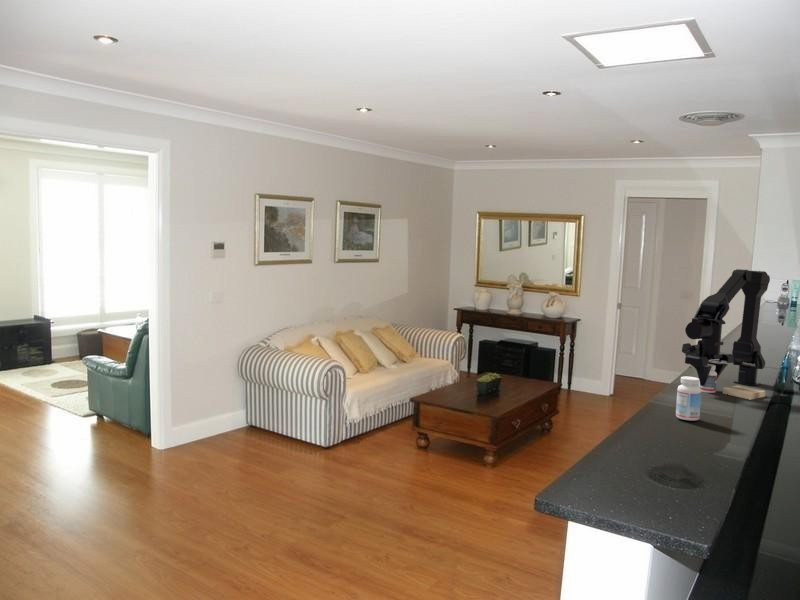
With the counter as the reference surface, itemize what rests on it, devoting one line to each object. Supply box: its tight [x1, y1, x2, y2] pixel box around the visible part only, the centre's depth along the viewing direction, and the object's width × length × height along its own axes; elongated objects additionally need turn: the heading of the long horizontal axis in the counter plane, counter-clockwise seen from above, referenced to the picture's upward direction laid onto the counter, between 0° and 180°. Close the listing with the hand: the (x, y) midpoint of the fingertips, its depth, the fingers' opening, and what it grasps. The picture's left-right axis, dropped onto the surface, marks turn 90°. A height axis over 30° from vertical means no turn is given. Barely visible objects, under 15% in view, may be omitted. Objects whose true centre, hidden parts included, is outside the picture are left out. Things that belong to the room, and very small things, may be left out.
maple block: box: [722, 385, 766, 401], centre depth 206 cm, size 9×9×2 cm
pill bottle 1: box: [675, 375, 702, 422], centre depth 175 cm, size 6×6×11 cm
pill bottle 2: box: [698, 364, 718, 394], centre depth 210 cm, size 5×5×9 cm
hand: (707, 384), depth 211 cm, fingers closed on pill bottle 2, 5 cm apart
